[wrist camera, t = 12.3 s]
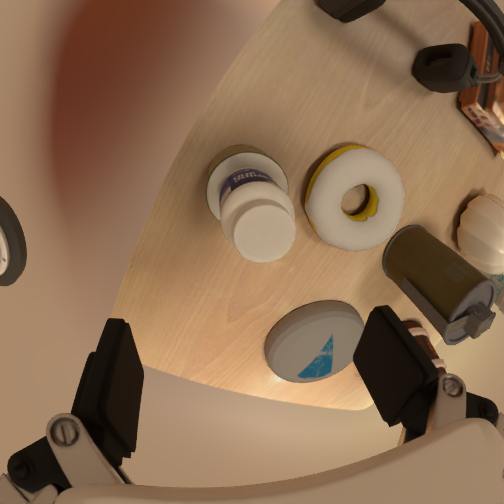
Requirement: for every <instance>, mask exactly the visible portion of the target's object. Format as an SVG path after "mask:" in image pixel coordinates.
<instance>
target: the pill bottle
mask: <svg viewBox="0 0 504 504" xmlns="http://www.w3.org/2000/svg"><path fill="white" fill-rule="evenodd" d="M219 205H220V222H221V227H222V230H223V233H224V235H225V237H226V238H227V240H228V241H229V242H230V243H231V244H232V245H233V246H234V247H236V248H237V250H238V252H239V253H240V254H241V255H242V256H243V257H245V258H246V259H248V260H250V261H252V262H256V263H268V262H272V261H275V260H277V259H279V258H281V257H282V256H284V255H285V254H286V253H287V252H288V251H289V250H290V248H291V247H292V245H293V243H294V240H295V236H296V229H295V224H294V221H295V213H294V208H293V205H292V202H291V200H290V199H289V197H288V196H287V194H286V193H285V192H284V191H283V190H282V189H281V188H280V187H279V185H278V184H277V183H276V182H275V181H274V180H273V179H272V178H271V177H270V176H269V175H268V174H266V173H265V172H263V171H261V170H259V169H256V168H249V167H247V168H241V169H238V170H235V171H234V172H232V173H231V174H229V175H228V176H227V177H226V178H225V180H224V181H223V183H222V185H221V188H220V193H219Z"/></svg>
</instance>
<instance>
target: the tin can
mask: <svg viewBox="0 0 504 504" xmlns="http://www.w3.org/2000/svg"><path fill="white" fill-rule="evenodd" d="M247 167H249V168H256V169H259V170H261V171H263V172H265V173H266V174H268V175H269V176H270V177H271V178H272V179H273V180H274V181H275V182H276V183H277V184H278V185H279V187H280V188H281V189H282V190H283V191H284V192H285V193H286V194H287V196H288V182H287V178H286V175H285V173H284V171H283V169H282V168H281V167H280V165H279V164H278V163H277V162H276V161H274V160H273V159H272V158H270V157H269V156H267V155H266V154H265V153H263V152H262V151H260V150H258V149H257V148H254V147H252V146H248V145H235V146H231V147H228V148H226V149H224V150H223V151H221V152H220V153H219V154H218V155H217V156H216V157H215V158H214V159H213V161H212V162H211V164H210V167H209V170H208V175H207V184H206V200H207V204H208V207H209V209H210V211H211V212H212V214H213V215H214V217H215V218H216V219H217V220H218V221H219V222H220V205H219V193H220V188H221V185H222V183H223V181H224V180H225V178H226V177H227V176H228V175H229V174H231V173H232V172H234V171H235V170H238V169H241V168H247Z"/></svg>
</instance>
